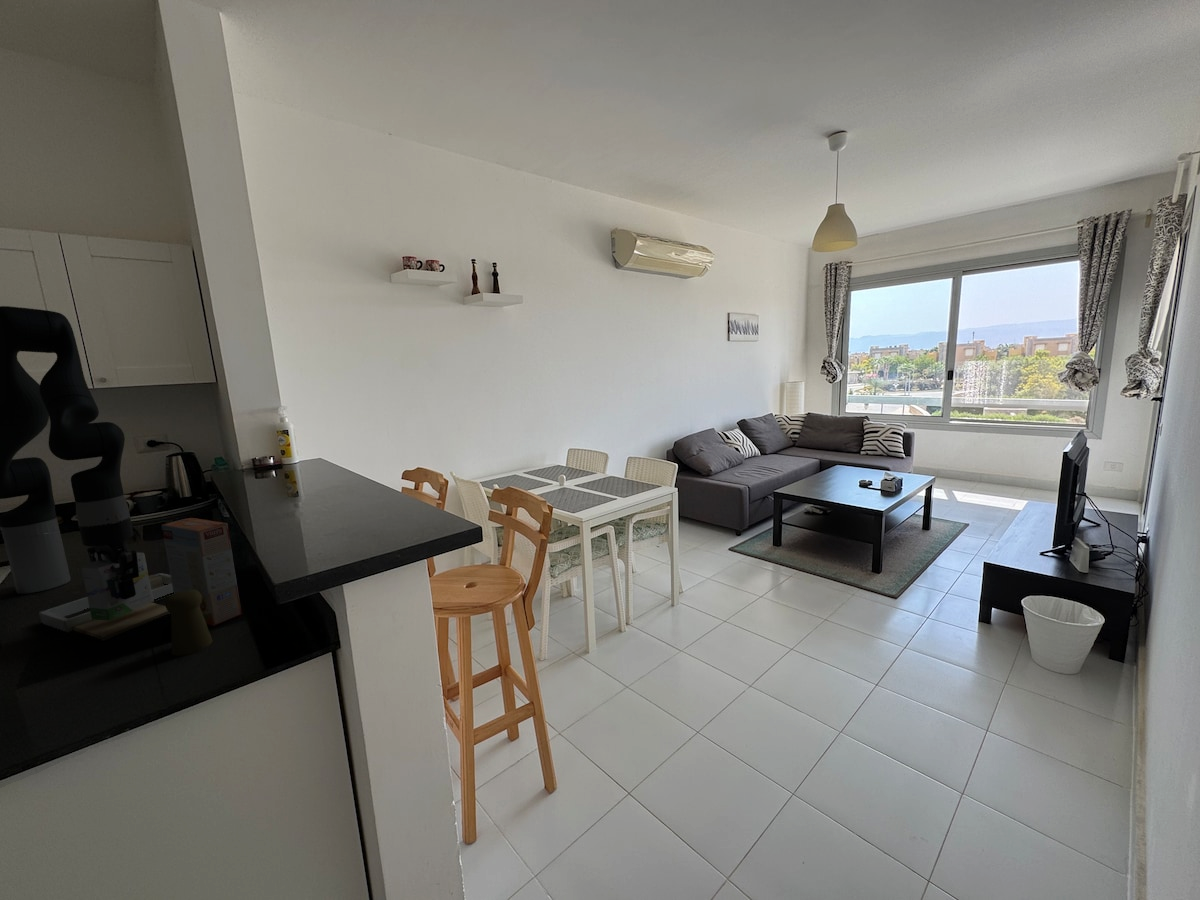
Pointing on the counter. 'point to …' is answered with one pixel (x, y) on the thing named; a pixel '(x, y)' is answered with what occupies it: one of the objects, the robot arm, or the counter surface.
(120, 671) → the counter surface
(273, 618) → the counter surface
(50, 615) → the white slotted tray
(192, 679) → the counter surface
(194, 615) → the pepper shaker
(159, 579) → the beech block
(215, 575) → the cracker box
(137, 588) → the ink box
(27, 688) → the counter surface
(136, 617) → the striped wooden board
